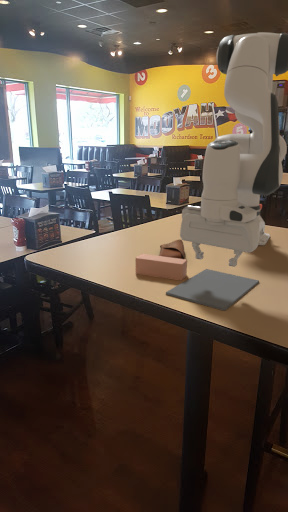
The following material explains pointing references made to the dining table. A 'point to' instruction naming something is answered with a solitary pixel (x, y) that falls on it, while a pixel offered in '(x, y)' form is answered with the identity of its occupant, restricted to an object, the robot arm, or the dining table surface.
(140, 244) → the dining table surface
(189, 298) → the mat
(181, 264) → the pink rectangular brick
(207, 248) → the dining table surface
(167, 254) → the sunglasses case
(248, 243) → the robot arm
